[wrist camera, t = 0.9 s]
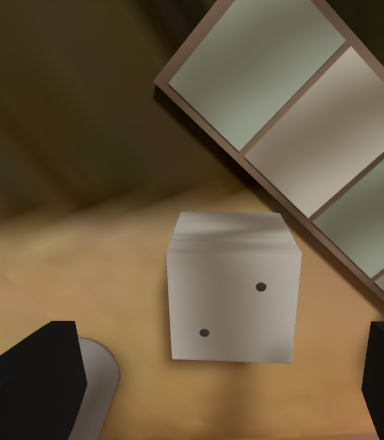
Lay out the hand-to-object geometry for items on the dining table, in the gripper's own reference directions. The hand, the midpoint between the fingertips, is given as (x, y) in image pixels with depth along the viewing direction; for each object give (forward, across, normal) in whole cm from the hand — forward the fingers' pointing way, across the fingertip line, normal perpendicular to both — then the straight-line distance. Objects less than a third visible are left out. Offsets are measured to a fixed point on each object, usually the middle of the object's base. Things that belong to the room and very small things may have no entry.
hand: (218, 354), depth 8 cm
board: (+10, -6, -2) cm, 12 cm away
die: (+10, 0, +2) cm, 10 cm away
